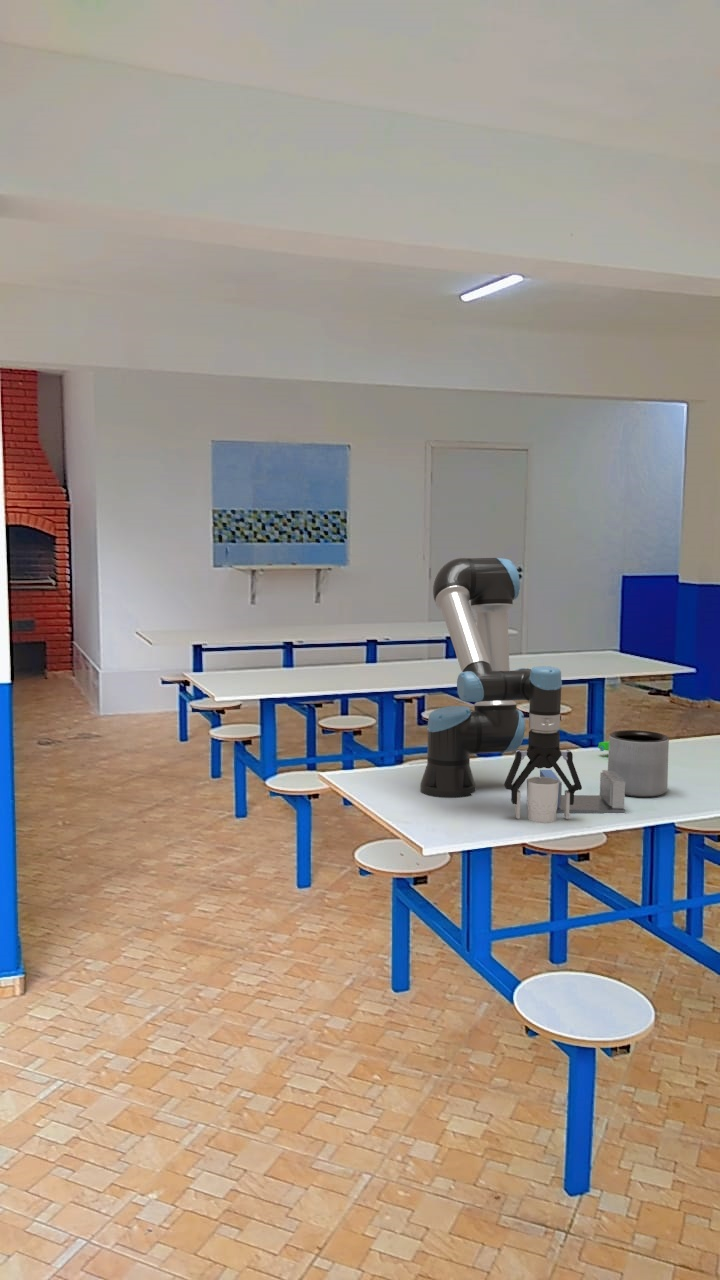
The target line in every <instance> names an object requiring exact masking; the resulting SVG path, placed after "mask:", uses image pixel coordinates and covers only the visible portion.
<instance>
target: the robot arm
mask: <svg viewBox="0 0 720 1280" xmlns="http://www.w3.org/2000/svg"><path fill="white" fill-rule="evenodd" d="M519 574H520V573H519V571H518V569H517V567H516V565H515V564H514V563H513V561H511V559H508V558H503V557H502V558H501V557H500V558H499V557H476V558H473V557H472V558H471V557H469V558H468V557H460V558H459V557H458V558H454V559H452V560H450V561H448V562H447V563H445V564H444V565H443V566H441V568H440V570H439V571H438V573H437V574H436V576H435V578H434V581H433V586H432V595H433V600H434V604H435V606H436V607H437V609H439V610H440V611H441V612H442V615H443V618H444V621H445V625H446V627H447V630H448V633H449V637H450V640H451V643H452V646H453V649H454V651H455V655H456V659H457V661H458V663H459V664H458V665H459V667H460V670H461V672H460V673H459V674H458V676H457V679H456V688H457V695H458V697H459V699H460V700H461V701H463V702H468V703H469V702H472V703H474V709H473V710H474V711H472V710H471V708H470V707H469V706H466V705H450V706H445V707H440V708H439V707H438V708H436V709H434V710H433V711H431V712H430V713H429V714H428V721H427V726H426V727H427V728H426V730H427V752H426V753H427V759H426V760H427V761H426V763H427V764H426V765H425V769H424V773H423V776H422V777H421V781H420V793H421V794H423V795H426V796H428V797H434V798H441V799H442V798H443V799H444V798H445V799H457V798H466V797H471V796H473V794H474V793H475V792H476V782H475V778H474V776H473V773H472V769H471V765H470V758H471V755H474V754H476V755H477V754H493V753H494V754H496V753H497V754H505V753H509V752H514V751H515V752H514V760H513V762H512V764H511V767H510V769H509V772H508V774H507V776H506V778H505V781H504V784H503V786H504V788H505V789H506V790H509V791H510V793H511V797H510V799H511V803H512V805H515V811H514V814H515V815H514V816H515V819H521V791H520V788H521V787H522V785H523V784H524V783H525V781H527V779H528V778H529V776H530V775H531V773H532V772H534V770H535V769H536V768H537V769H544V768H545V769H551V768H553V769H554V770H555V771H556V774H557V776H558V777H559V779H560V780H562V781H561V782H563V784H564V785H565V786H566V788H567V789H564V795H565V799H564V813H563V817H564V818H565V819H566V820H569V819H570V813H569V807H570V805H573V803H574V795H575V793H576V791H581V790H582V789H583V786H582V784H581V780H580V778H579V776H578V772H577V770H576V767H575V764H574V762H573V757H574V756H573V752H572V751H571V750H569V749H567V750H560V749H561V748H560V744H561V743H560V740H561V733H560V732H559V730H560V729H561V705H562V685H563V681H562V671H561V669H560V668H558V667H555V666H546V665H545V666H544V665H543V666H534V667H532V668H523V667H521V668H520V667H519V668H516V669H515V670H510V651H509V650H510V647H509V646H510V644H509V642H510V641H509V621H508V619H509V616H508V615H509V614H508V613H509V610H510V609H511V608H512V607H513V605H514V604H513V601H514V600H517V599H518V597H519V595H520V589H521V582H520V575H519ZM473 611H474V612H475V613H476V620H475V616H474V614H473ZM515 701H528V702H529V715H528V716H529V717H528V718H529V719H528V728H529V729H530V730H529V731H528V748H527V750H520V749H519V748H521V747H520V746H521V745H522V743H523V742H524V741H523V740H524V736H525V731H526V722H525V721H526V720H525V716H524V713H523V712H522V711H521V710H519V709H518V708H517V702H515ZM525 757H527V758H528V760H529V761H528V762H527V764H526V766H525V767H524V769H523V770H522V771H521V773H520V774H519V775H518V777H517V778H516V775H517V772H518V770H519V767H520V766H521V762H522V760H524V759H525ZM560 758H563V760H564V761H566V766H567V767H568V769H569V773H570V776H571V778H572V780H573V784H572V783H571V782H570V780H569V779H568V778H567V776H566V774H565V773H564V772H563V770H562V768H561V767H560V766H559V764H558V763H557V762H558V761H559V759H560ZM515 778H516V779H515ZM514 779H515V781H514Z"/></svg>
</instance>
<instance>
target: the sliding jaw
mask: <svg viewBox="0 0 720 1280" xmlns="http://www.w3.org/2000/svg"><path fill="white" fill-rule="evenodd" d="M539 777H549V778H554V779H557V780H559V793H558V804H557V808H559V806H561V795H562V790H563V789H562V785H563V783H562V782H563V781H561V779H560V777H559V776H558V775H557V773H555V772H554V771H553V769H540V770H539Z"/></svg>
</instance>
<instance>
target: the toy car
mask: <svg viewBox="0 0 720 1280" xmlns="http://www.w3.org/2000/svg"><path fill="white" fill-rule="evenodd" d="M597 748H598V749H599V751H600V752H604V751H607V752H609V740H607V741H606V740H605V741H601V742H598V746H597Z"/></svg>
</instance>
